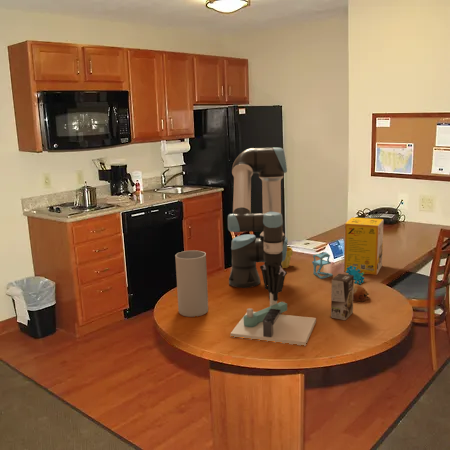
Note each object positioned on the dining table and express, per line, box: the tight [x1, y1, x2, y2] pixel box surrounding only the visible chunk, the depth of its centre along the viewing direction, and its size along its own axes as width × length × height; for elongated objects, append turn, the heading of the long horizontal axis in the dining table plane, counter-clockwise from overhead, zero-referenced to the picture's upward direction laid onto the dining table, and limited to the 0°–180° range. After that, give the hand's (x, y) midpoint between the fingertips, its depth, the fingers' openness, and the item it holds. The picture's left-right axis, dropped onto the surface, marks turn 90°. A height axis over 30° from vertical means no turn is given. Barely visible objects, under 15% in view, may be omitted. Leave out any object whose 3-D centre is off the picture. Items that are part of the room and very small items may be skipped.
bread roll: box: [353, 283, 370, 303], centre depth 223 cm, size 10×10×8 cm
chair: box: [311, 252, 333, 280], centre depth 254 cm, size 8×8×12 cm
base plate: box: [230, 311, 317, 347], centre depth 195 cm, size 28×22×2 cm
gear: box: [346, 266, 365, 286], centre depth 244 cm, size 11×6×10 cm
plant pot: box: [281, 246, 293, 269], centre depth 270 cm, size 10×10×10 cm
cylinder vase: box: [174, 250, 209, 318], centre depth 212 cm, size 12×12×25 cm
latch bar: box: [243, 301, 288, 327], centre depth 201 cm, size 22×5×6 cm, turn 133°
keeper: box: [263, 309, 282, 337], centre depth 190 cm, size 4×12×6 cm, turn 161°
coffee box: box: [330, 273, 355, 321], centre depth 204 cm, size 9×6×16 cm
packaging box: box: [343, 216, 384, 276], centre depth 261 cm, size 16×16×25 cm
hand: (273, 307), depth 207 cm, fingers closed
